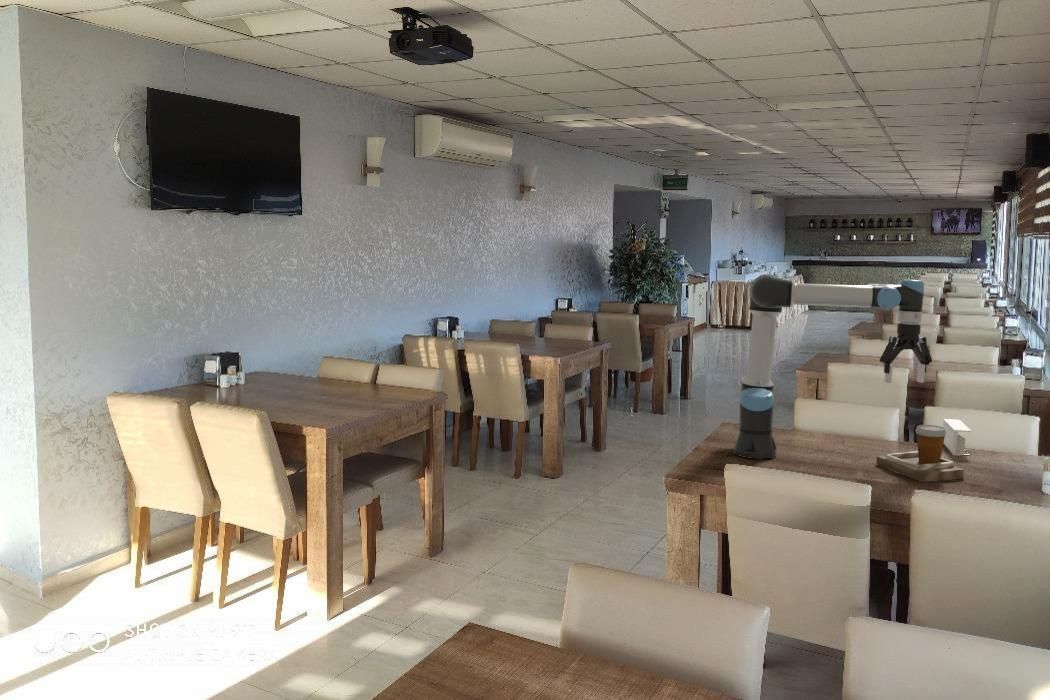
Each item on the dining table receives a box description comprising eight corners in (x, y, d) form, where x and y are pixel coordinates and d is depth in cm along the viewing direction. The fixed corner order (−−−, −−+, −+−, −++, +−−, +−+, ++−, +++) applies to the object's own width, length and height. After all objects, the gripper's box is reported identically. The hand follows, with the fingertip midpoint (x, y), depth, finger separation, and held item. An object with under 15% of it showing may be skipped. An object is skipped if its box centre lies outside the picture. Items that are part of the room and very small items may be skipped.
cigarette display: (969, 456, 296) (971, 430, 295) (952, 455, 297) (954, 430, 296) (957, 442, 315) (958, 418, 314) (941, 442, 316) (942, 418, 315)
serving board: (922, 482, 265) (923, 469, 264) (876, 464, 286) (877, 451, 285) (963, 478, 269) (964, 465, 269) (914, 460, 290) (915, 448, 290)
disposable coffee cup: (907, 461, 278) (909, 427, 277) (923, 457, 284) (924, 423, 282) (935, 468, 270) (937, 432, 269) (950, 463, 276) (952, 428, 274)
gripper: (886, 323, 286) (881, 384, 289) (946, 324, 292) (940, 383, 295) (872, 321, 293) (867, 380, 296) (931, 322, 300) (925, 380, 302)
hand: (904, 382), depth 295 cm, fingers open, 13 cm apart
